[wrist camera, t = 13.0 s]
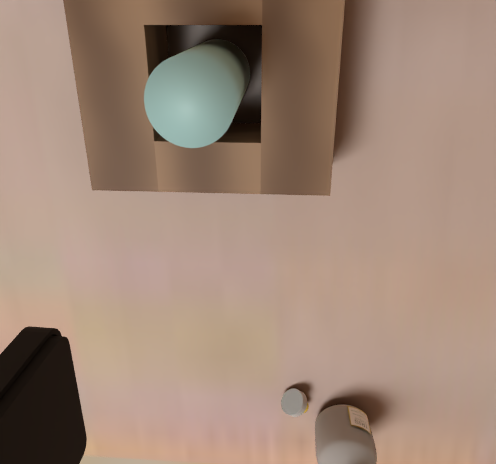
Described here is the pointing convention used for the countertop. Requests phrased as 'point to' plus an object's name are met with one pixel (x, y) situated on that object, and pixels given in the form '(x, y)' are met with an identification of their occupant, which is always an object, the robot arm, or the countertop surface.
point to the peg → (197, 93)
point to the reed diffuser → (336, 431)
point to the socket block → (238, 134)
